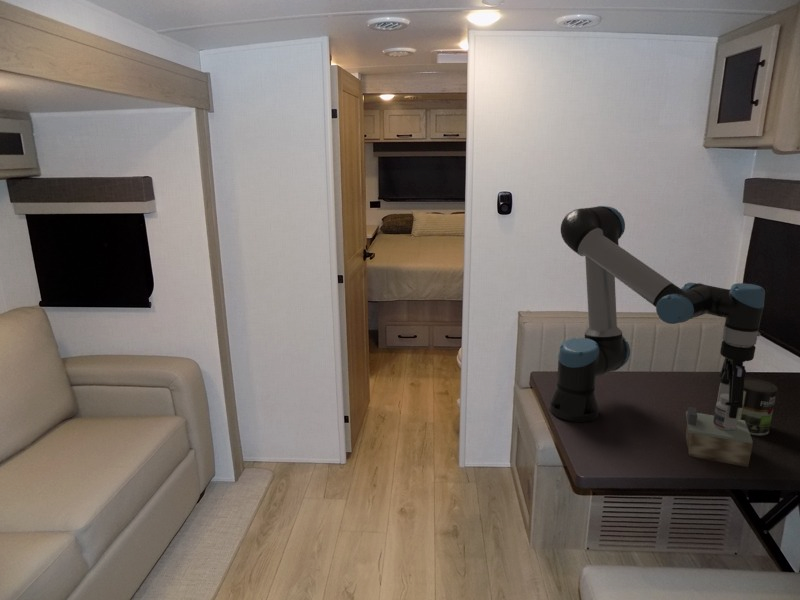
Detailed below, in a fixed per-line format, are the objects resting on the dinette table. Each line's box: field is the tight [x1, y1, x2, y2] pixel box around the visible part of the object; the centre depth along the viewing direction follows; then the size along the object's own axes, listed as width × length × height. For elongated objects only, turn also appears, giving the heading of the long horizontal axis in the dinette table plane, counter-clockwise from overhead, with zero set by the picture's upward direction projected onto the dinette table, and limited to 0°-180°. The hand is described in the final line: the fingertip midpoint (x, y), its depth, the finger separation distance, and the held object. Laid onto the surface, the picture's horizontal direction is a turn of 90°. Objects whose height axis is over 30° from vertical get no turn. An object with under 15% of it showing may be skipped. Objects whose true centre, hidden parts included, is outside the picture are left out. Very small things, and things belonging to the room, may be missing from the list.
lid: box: [685, 406, 753, 444], centre depth 144 cm, size 15×12×4 cm
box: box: [685, 423, 754, 468], centre depth 145 cm, size 14×11×7 cm
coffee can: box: [738, 377, 779, 437], centre depth 157 cm, size 10×10×14 cm
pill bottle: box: [713, 394, 734, 430], centre depth 143 cm, size 5×5×9 cm
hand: (725, 415), depth 143 cm, fingers open, 13 cm apart
